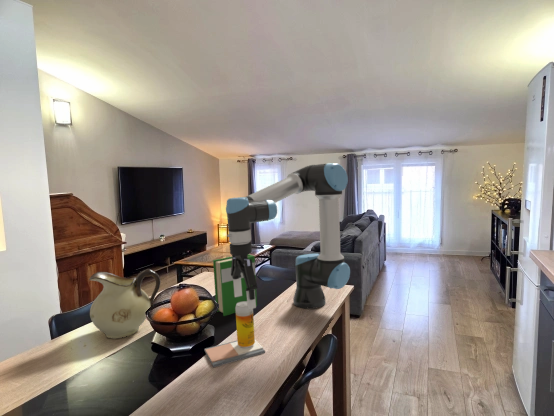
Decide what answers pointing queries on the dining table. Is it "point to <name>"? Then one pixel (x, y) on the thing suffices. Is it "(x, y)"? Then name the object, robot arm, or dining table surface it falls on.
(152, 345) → the dining table surface
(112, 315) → the pitcher
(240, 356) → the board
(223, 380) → the dining table surface
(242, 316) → the yellow bottle
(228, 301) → the hardback book
